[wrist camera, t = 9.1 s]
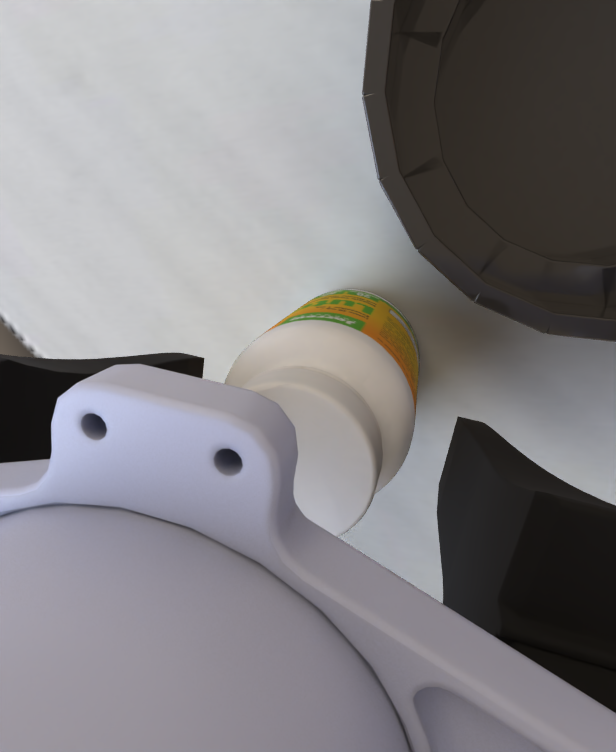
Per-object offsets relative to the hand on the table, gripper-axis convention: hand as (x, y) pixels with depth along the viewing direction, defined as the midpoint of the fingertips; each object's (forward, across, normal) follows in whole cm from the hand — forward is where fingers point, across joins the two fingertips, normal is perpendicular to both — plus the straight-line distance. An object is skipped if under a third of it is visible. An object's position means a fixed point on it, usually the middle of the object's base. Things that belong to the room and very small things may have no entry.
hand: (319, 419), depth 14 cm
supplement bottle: (+7, 0, 0) cm, 7 cm away
